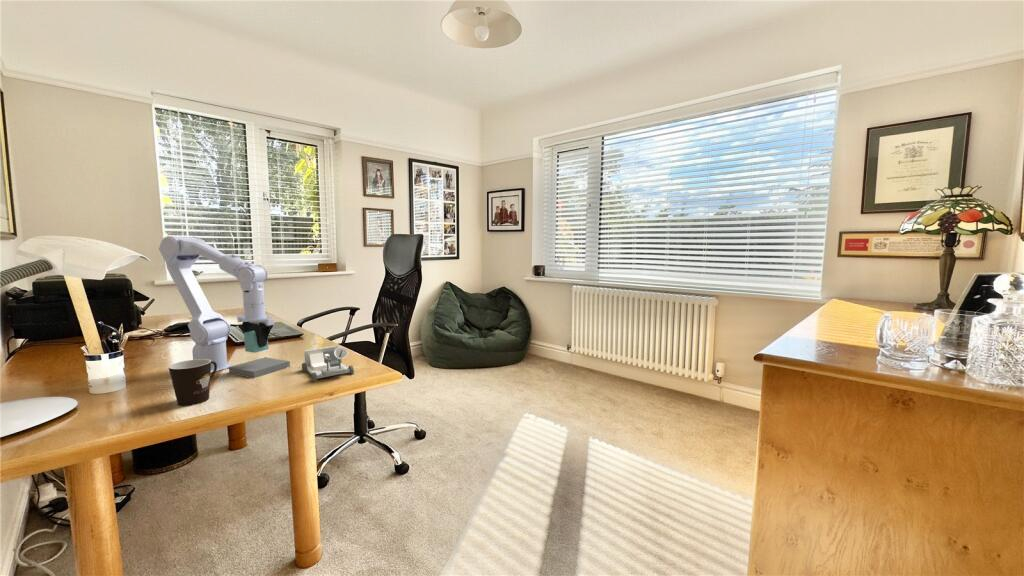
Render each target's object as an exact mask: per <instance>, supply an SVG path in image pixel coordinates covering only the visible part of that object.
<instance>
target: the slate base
mask: <svg viewBox="0 0 1024 576" xmlns="http://www.w3.org/2000/svg"><path fill="white" fill-rule="evenodd" d="M290 363H291V362H290V361H289V360H285V359H284V360H283V359H278V358H272V357H262V358H258V359H253V360H251V361H247V362H243V363H239V364H238V363H237V364H235V365H234V364H233V365H234V366H231V367H229V368H228V370H229V373H228V374H232V373H233V374H232V375H236V374H239V375H238V376H241V375H243V376H242V377H246V376H248V377H247V378H251V377H252V379H256V378H259V377H263V376H266V375H269V374H272V373H276V372H279V371H281V370H285V369H288V368H287V367H289V368H291V364H290Z"/></svg>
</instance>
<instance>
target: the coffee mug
mask: <svg viewBox="0 0 1024 576" xmlns="http://www.w3.org/2000/svg"><path fill="white" fill-rule="evenodd" d="M211 363H212V364H214V371H213V372H212V373H211ZM216 370H217V364H216V362H214V361H211V360H209V359H195V360H193V359H190V360H189V359H188V360H184V361H183V360H182V361H179V362H175V363H172V364H170V365H168V371H169V376H170V379H171V383H172V387H173V390H174V391H173V392H174V395H175V398H176V402H177V405H178V406H179V405H180V406H179V407H187V406H188V407H189V406H194V405H195V406H196V405H199V404H202V403H205V402H207V401H209V399H210V390H211V389H210V387H211V380H212V378H213V377H214V376H215V374H216V372H217V371H216Z"/></svg>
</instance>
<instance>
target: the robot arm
mask: <svg viewBox="0 0 1024 576" xmlns="http://www.w3.org/2000/svg"><path fill="white" fill-rule="evenodd" d="M158 251H159V252H160V254H161V256H162V258H163V260H164V262H165V265H166V268H167V271H168V273H169V276H171V279H172V281H173V282H174V285H175V286H176V289H177V290H178V293H179V294H180V296H181V298H182V300H183V302H184V304H185V305H186V307H187V309H188V311H189V313H190V315H191V316H192V318H191V320H190V321H189V323H188V324H187V327H188V329H189V333H190V334H189V336H190V338H191V340H192V342H194V343H195V345H194V346H193V347H192V351H191V352H192V353H191V354H192V360H195V359H209V360H211V361H214V362H216V364H217V370H216V372H219V371H222V370H226V369H229V367H231V366H234V364H231V363H228V354H227V340H228V337H229V336H230V335H231V332H232V328H231V325H230V323H229V322H228V321H227V320H225V318H224V317H223V315H222V314H220V313H218V312H216V311H214V310H213V308H212V307H211V305H210V302H209V301H208V299H207V297H206V295H205V294H204V291H203V289H202V287H201V286H200V284H199V281H198V280H197V278H196V276H195V274H194V272H193V270H192V265H195V263H196V262H197V261H198V259H199V258H200V257H202V258H204V259H207V260H209V261H210V262H211V261H212V262H213V263H215V264H218V267H219V269H220V270H222V271H223V272H226V273H227V274H229V275H231V276H233V277H235V278H236V280H237V281H238V283H239V285H240V289H241V290H242V301H243V302H242V303H243V305H242V306H243V314H242V315H237V316H236V320H237V323H239V324H238V325H237V327H238V328H239V330H240V331H241V332H242V334H243V335H244V333H246V332H250V331H255V334H256V337H257V342H258V346H259V347H263V346H266V344H267V340H268V341H269V336H270V332H272V329H273V327H274V325H275V319H274V318H272V317H269V316H267V315H266V302H265V301H266V300H265V287H264V285H265V281H267V279H268V271H267V269H266V268H265V267H263V266H262V265H261V264H256V265H253V264H252V262H250V261H246V260H244V259H242V258H241V257H239V254H236V253H232V254H231V253H227V254H225V253H223V252H221V251H220V250H218V249H216V248H215V247H213V246H212V245H210V244H208V243H206V240H204V239H203V238H202V239H201V238H199V237H197V236H173V235H170V236H169V235H168V236H165V237H164V238H162V240H161V241H160V244H159V247H158ZM213 371H214V364H212V363H211V374H212V373H213Z"/></svg>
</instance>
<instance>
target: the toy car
mask: <svg viewBox="0 0 1024 576" xmlns="http://www.w3.org/2000/svg"><path fill="white" fill-rule="evenodd" d="M348 355H349V351H348V349H347V348H345V347H343V346H342V347H341V346H340V347H338V345H332V346H326V347H320V348H313V349H307V350H305V349H304V362H303V363H302V364H301V370H302V371H303V372H304V373H305V371H306V372H308V373H309V374H310V375H311V381H312V382H313V383H317V381H318V379H322V378H328V377H333V376H337V375H344V374H347V373H348V374H349V373H350V375H351V374H352V375H354V374H355V369H354V366H353V365H348V366H346V365H345V364H344V363H342V361H343V359H345V358H346V357H348Z"/></svg>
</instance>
